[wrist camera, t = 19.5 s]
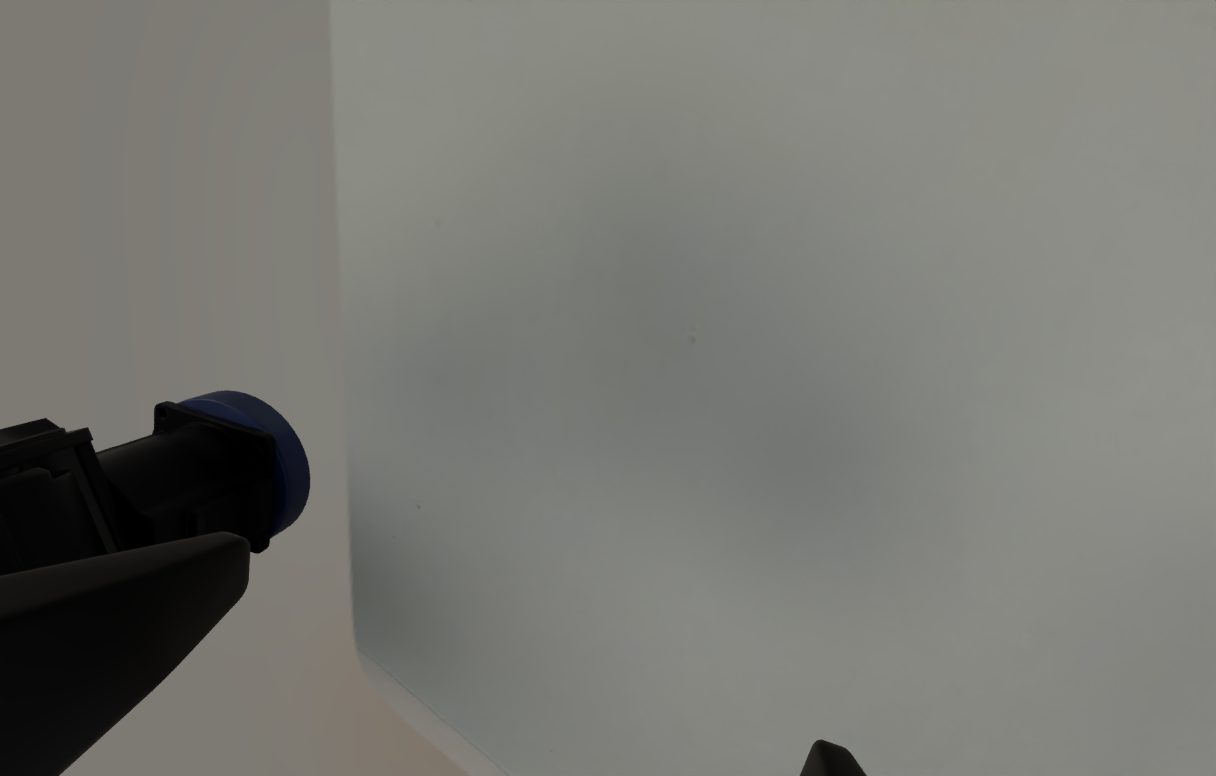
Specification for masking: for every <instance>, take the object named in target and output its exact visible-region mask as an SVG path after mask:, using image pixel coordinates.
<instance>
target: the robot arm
mask: <svg viewBox="0 0 1216 776" xmlns="http://www.w3.org/2000/svg"><path fill="white" fill-rule="evenodd" d="M91 440H93V438H92V436H91V433H90V431H89V429H88V427H87V428H82V429H78V430H74V431H69V432H66V431H65V429H64V428H59V427H58V426H57V425H55V424H54V423H52V422H51V421H49V420H47V419H46V418H44V419H40V420H36V421H32V422H28V423H24V424H20V425H16V426H12V427H8V428H4V429H0V776H59V775H60V774H61V773H62V772H64V771H65V770H66V769H67V768H68V767H69V766H70V765H71V764H72V763H74V762H75V761H76V760H77V759H78V758H79V757H80V756H81V755H82V754H83V753H85V752H86V751H87V750H88V749H89V748H90V747H91V746H92V745H93V744H94V743H95V742H97V741H98V740H99V739H100V738H101V737H102V736H103V735H104V734H105V733H106V732H108V731H109V730H110V729H111V728H112V727H113V726H114V725H115V724H116V723H118V721H120V720H121V719H122V718H123V717H124V716H125V715H126V714H127V713H129V712H130V711H131V710H132V709H133V708H134V707H135V706H136V705H137V704H138V703H140V702H141V701H142V700H143V699H144V698H145V697H146V696H147V695H148V694H149V693H150V692H151V691H153V690H154V689H155V688H156V687H157V686H158V685H159V684H160V683H161V682H162V681H163V680H164V679H165V678H166V677H167V676H168V675H169V674H170V673H171V672H172V671H173V670H174V669H175V668H176V667H177V666H178V665H179V664H180V663H181V662H182V660H183V659H184V658H185V657H186V656H187V655H188V654H189V653H190V652H191V651H192V650H193V649H194V648H195V647H196V646H197V645H198V643H199V642H200V641H201V640H202V639H203V638H204V637H205V636H206V635H207V634H208V633H209V632H210V631H211V630H212V628H213V627H214V626H215V625H216V624H217V623H218V622H219V621H220V620H221V619H222V618H223V617H224V616H225V615H226V613H227V612H228V611H229V610H230V609H231V608H232V607H233V606H234V605H235V604H236V603H237V602H238V601H239V600H240V598H241V597H242V595H243V594H244V592H245V590H246V588H247V585H248V581H249V563H250V552H252V553H255V554H259V553H261V552H263V551H264V550H266V549H267V548H268V547H269V544H270V532H271V517H272V503H273V489H274V475H275V461H276V446H277V444H276V440H275V437H274V436H273V435H272V434H270V433H268V432H265V431H262V430H259V429H256V428H253V427H250V426H246V425H243V424H240V423H237V422H234V421H231V420H228V419H224V418H221V417H218V416H215V415H212V414H209V413H205V412H202V411H199V410H196V409H193V408H190V407H187V406H183V405H180V404H177V403H174V402H170V401H165V402H162V403H159V404H156V406H155V408H154V434H152V435H149V436H146V437H142V438H139V439H136V440H133V441H130V442H127V443H124V444H121V445H118V446H115V447H112V448H109V449H105V450H103V451H100V452H95V450H94V448H93V445H92V443H91ZM263 441H264V442H265V444H266V446H265V445H264V443H263ZM258 543H259V544H258ZM800 776H866V774H865V773H864V771H863V770H862V768H861V767H860V765H859V764H858V763H857V761H856V760H855V758H854V757H853V755H852V754H851V753H850V752H849V751H848V750H847V749H846V748H844V747H842V746H839V745H836V744H833V743H830V742H827V741H824V740H817V741H816V742H815V743H814V744H813V746H812V748H811V750H810V753H809V755H808V757H807V760H806V762H805V765H804V767H803V769H802V772H801V774H800Z"/></svg>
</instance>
